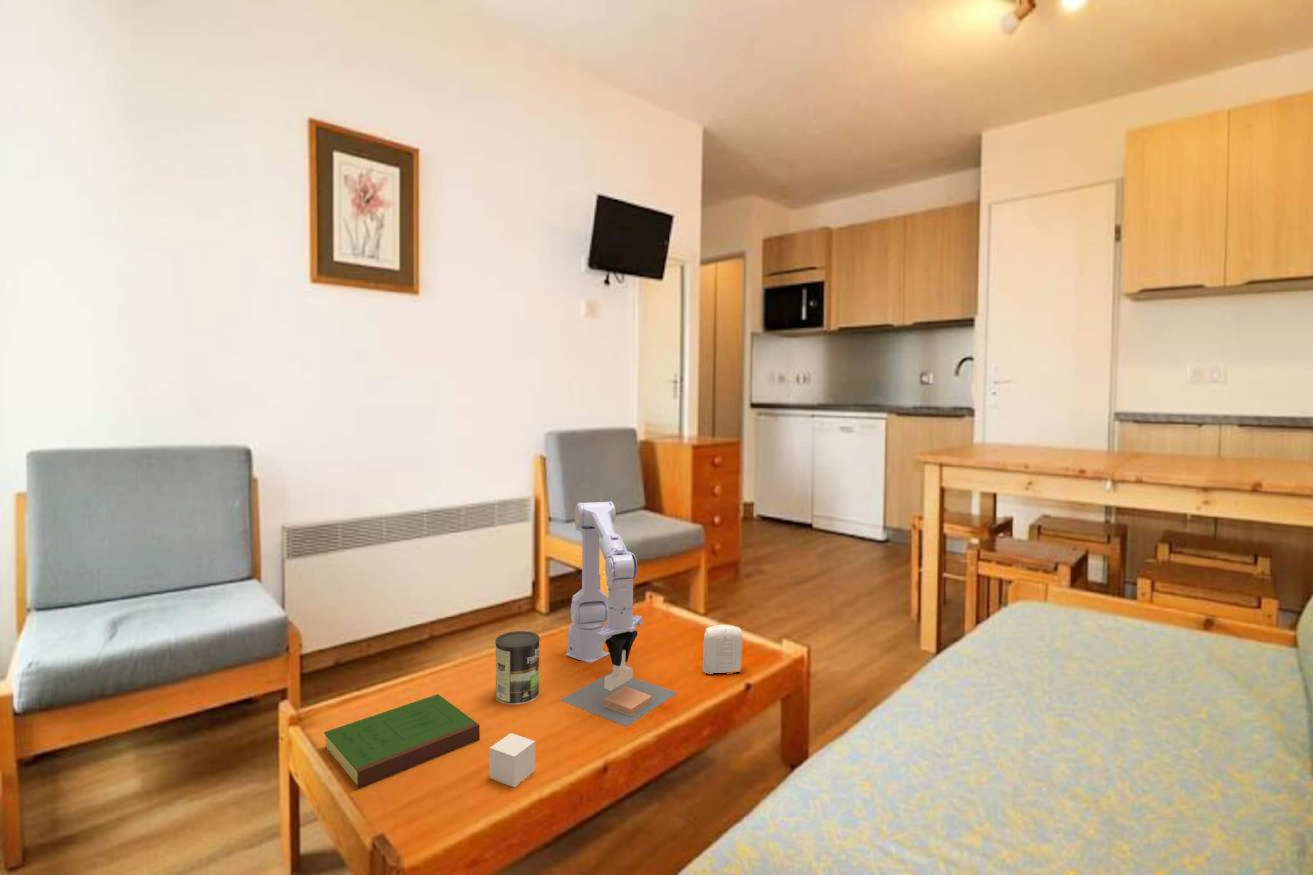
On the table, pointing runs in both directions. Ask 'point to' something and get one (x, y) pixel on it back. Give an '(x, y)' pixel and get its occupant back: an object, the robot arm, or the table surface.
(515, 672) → the coffee can
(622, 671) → the beige t-shaped block
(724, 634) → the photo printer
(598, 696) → the mat
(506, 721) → the table surface
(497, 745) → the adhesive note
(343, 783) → the table surface
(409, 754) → the hardcover book
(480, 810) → the table surface
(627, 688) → the tile
